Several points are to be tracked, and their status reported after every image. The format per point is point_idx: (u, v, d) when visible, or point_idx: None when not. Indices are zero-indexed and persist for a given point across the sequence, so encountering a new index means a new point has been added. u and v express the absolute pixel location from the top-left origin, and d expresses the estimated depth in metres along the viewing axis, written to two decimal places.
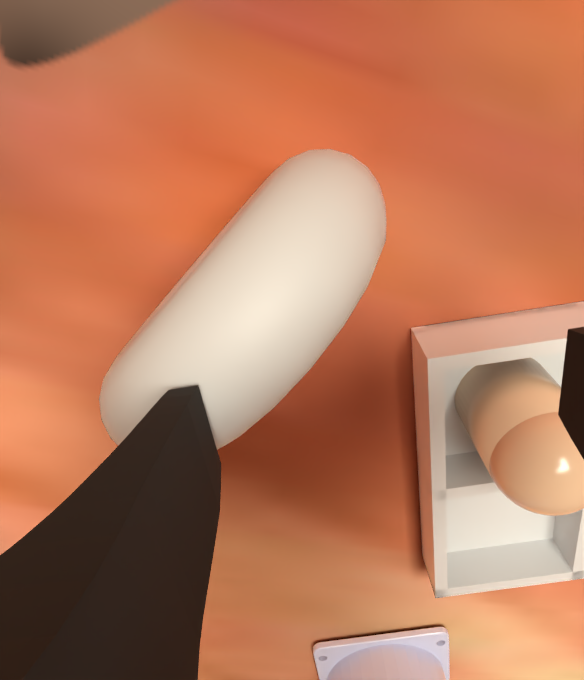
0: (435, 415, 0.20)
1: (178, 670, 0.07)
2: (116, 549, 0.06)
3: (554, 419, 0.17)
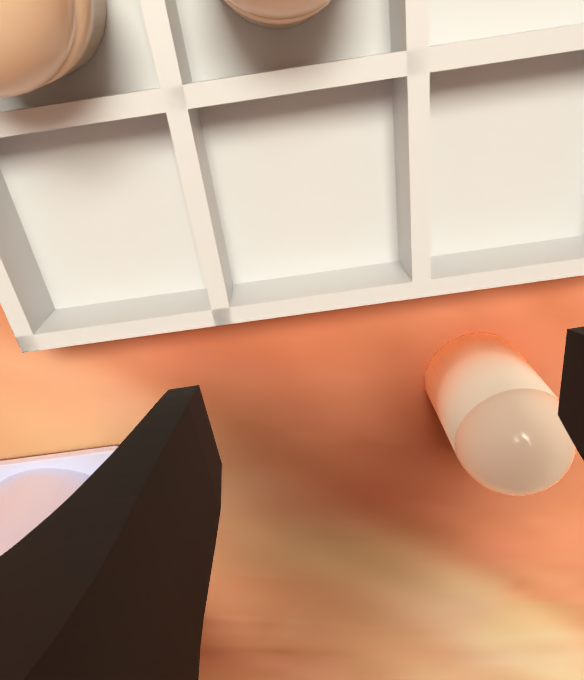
0: None
1: (180, 670, 0.07)
2: (117, 549, 0.06)
3: None
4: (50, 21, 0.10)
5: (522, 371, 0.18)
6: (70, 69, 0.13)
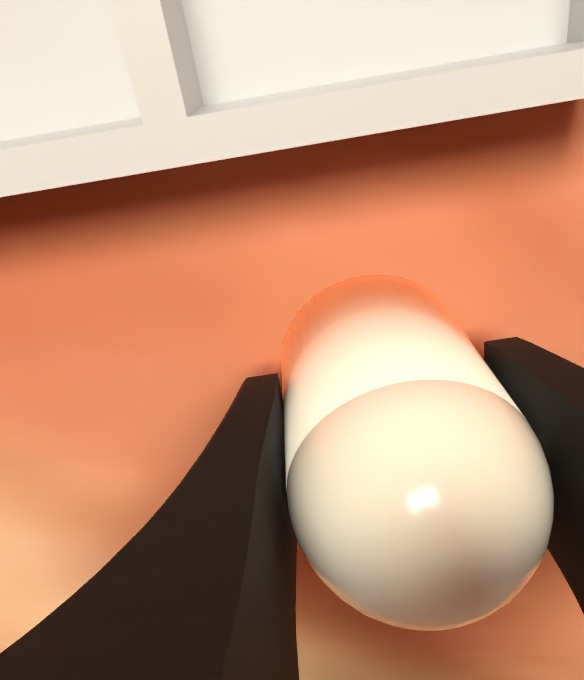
0: None
1: (289, 655, 0.07)
2: (253, 531, 0.06)
3: None
4: None
5: (434, 343, 0.08)
6: None
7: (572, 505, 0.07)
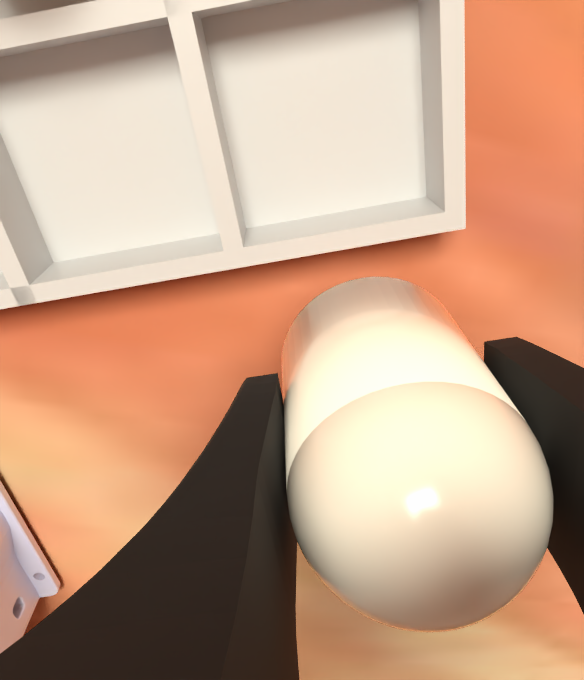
0: None
1: (289, 655, 0.07)
2: (253, 530, 0.06)
3: None
4: None
5: (434, 345, 0.08)
6: None
7: (572, 505, 0.07)
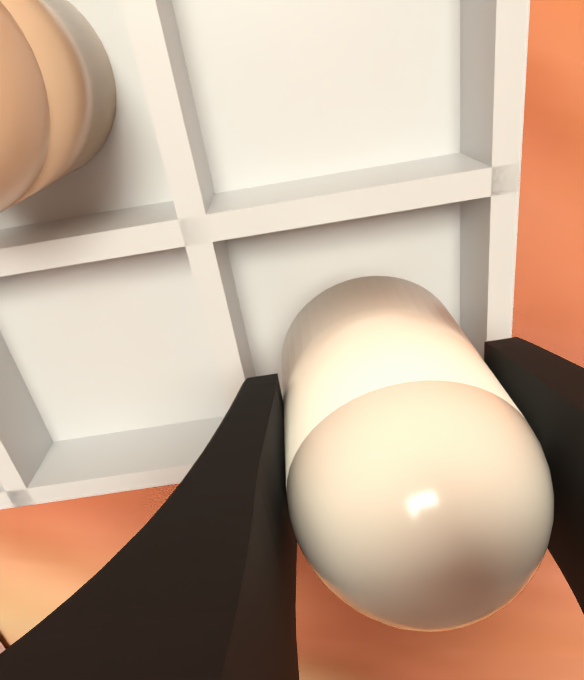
0: None
1: (290, 656, 0.07)
2: (252, 530, 0.06)
3: None
4: None
5: (434, 343, 0.08)
6: None
7: (572, 505, 0.07)
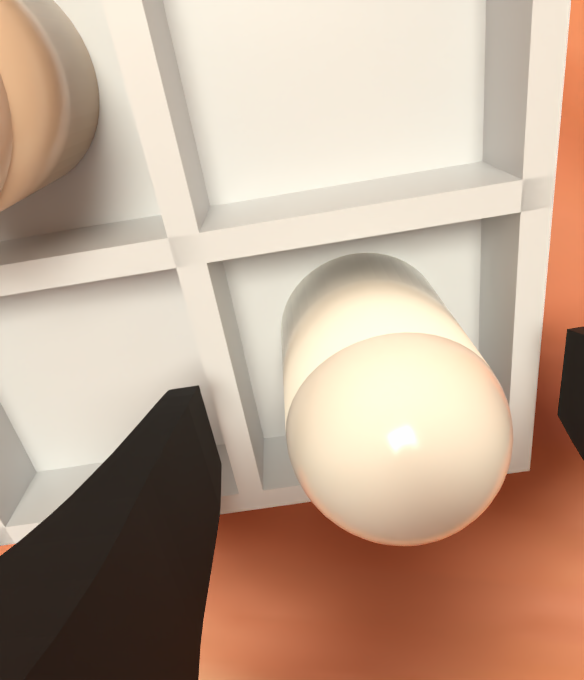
0: None
1: (180, 670, 0.07)
2: (117, 548, 0.06)
3: None
4: None
5: (413, 305, 0.10)
6: None
7: None
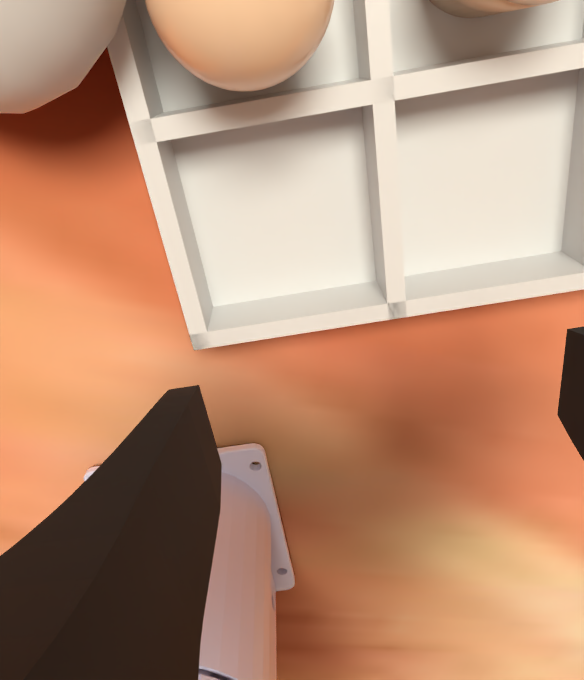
0: None
1: (179, 671, 0.07)
2: (117, 549, 0.06)
3: None
4: (325, 12, 0.10)
5: None
6: None
7: None
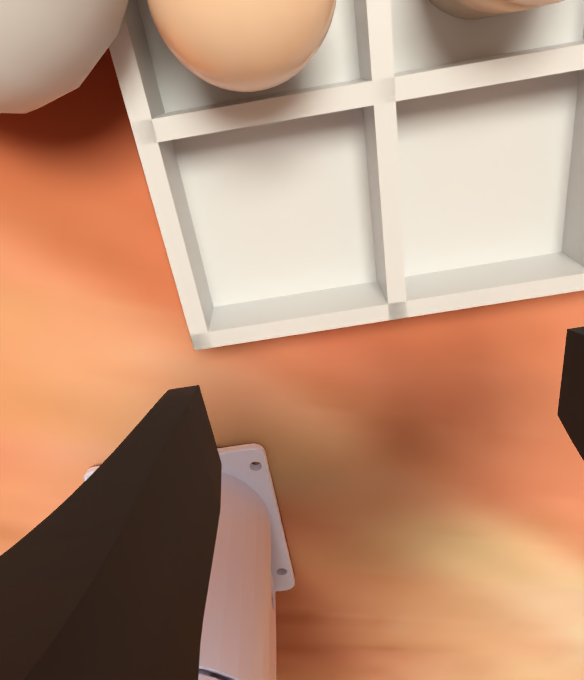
0: None
1: (180, 670, 0.07)
2: (116, 548, 0.06)
3: None
4: (327, 12, 0.10)
5: None
6: None
7: None
